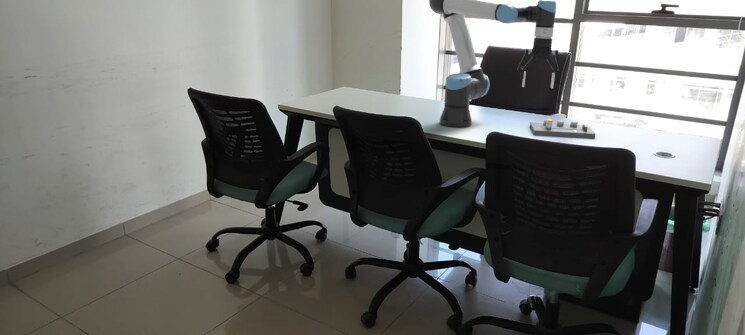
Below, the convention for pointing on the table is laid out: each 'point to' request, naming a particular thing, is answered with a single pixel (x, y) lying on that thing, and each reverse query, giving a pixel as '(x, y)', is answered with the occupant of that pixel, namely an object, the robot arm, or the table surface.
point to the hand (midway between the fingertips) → (537, 87)
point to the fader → (549, 123)
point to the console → (562, 129)
